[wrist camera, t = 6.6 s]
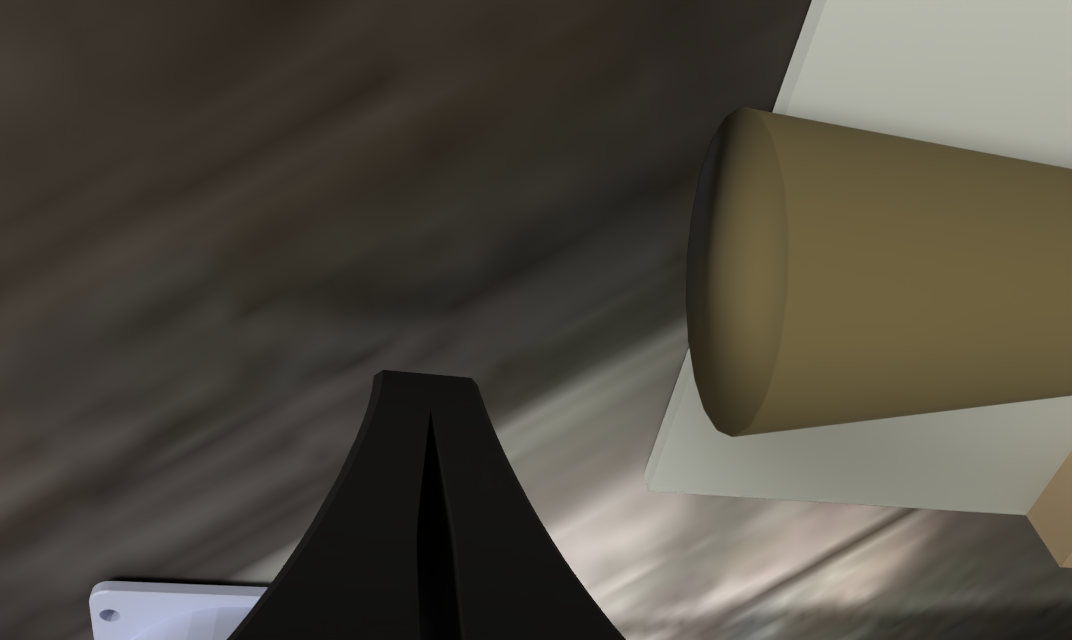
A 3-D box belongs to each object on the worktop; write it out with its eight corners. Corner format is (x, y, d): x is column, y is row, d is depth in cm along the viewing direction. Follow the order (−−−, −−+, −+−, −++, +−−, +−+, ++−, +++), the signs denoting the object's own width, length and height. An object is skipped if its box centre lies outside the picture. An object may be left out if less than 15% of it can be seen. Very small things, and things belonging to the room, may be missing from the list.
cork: (735, 42, 18) (1276, 73, 19) (671, 279, 22) (1115, 292, 23) (821, 263, 14) (1509, 285, 15) (722, 502, 18) (1261, 505, 19)
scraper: (1046, 501, 27) (1092, 569, 25) (644, 474, 25) (661, 546, 23) (1462, -80, 18) (1584, -42, 16) (883, -202, 16) (946, -175, 14)
